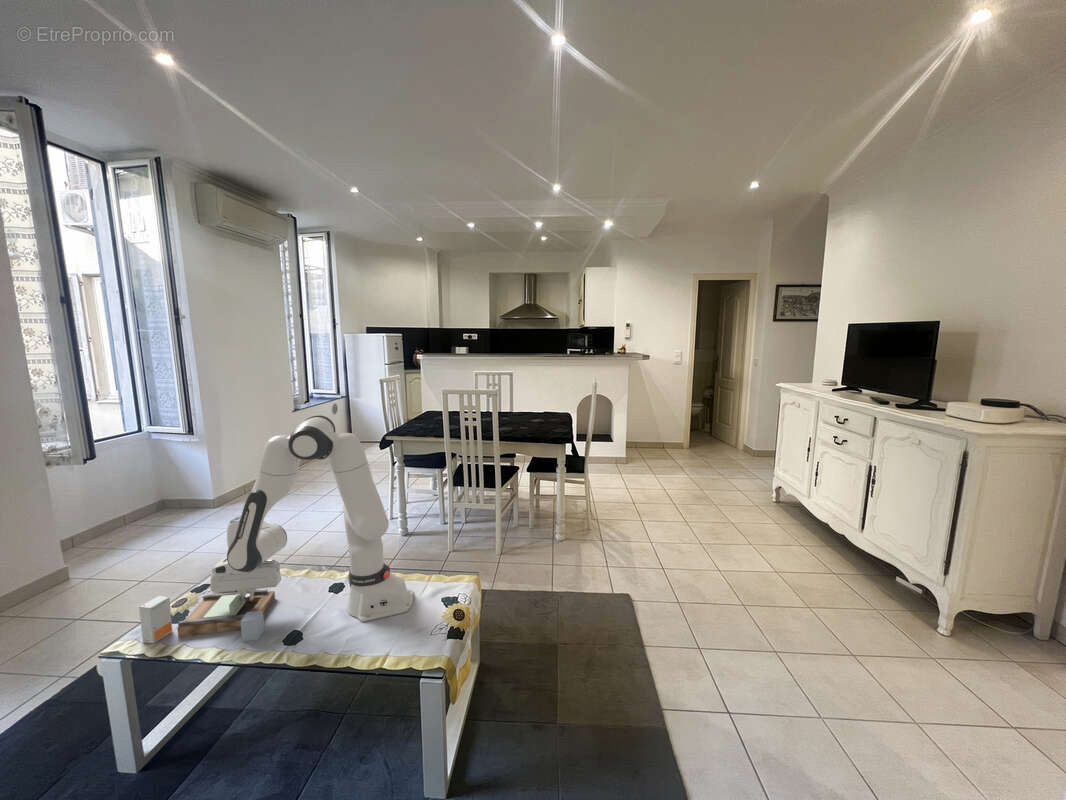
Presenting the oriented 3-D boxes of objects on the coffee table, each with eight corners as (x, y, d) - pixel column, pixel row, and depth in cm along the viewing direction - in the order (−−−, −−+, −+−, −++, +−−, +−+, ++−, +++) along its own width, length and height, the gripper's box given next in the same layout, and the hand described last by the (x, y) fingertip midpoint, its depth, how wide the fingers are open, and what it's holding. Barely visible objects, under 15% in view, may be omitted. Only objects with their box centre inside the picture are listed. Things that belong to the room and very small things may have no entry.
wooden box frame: (275, 598, 152) (274, 587, 151) (255, 627, 136) (254, 616, 136) (206, 605, 147) (205, 594, 147) (178, 636, 132) (176, 624, 131)
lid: (250, 595, 148) (249, 583, 147) (234, 616, 136) (233, 604, 136) (222, 597, 146) (221, 586, 146) (202, 620, 135) (201, 607, 134)
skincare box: (153, 644, 128) (149, 608, 127) (142, 642, 129) (137, 606, 127) (173, 631, 134) (169, 596, 132) (162, 629, 135) (158, 595, 133)
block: (264, 630, 135) (262, 610, 134) (258, 639, 131) (256, 619, 130) (248, 632, 134) (247, 612, 133) (242, 641, 130) (240, 621, 129)
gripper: (282, 554, 146) (285, 591, 147) (216, 559, 141) (219, 597, 143) (275, 564, 139) (278, 602, 141) (206, 569, 135) (209, 609, 137)
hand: (248, 600), depth 142 cm, fingers closed
